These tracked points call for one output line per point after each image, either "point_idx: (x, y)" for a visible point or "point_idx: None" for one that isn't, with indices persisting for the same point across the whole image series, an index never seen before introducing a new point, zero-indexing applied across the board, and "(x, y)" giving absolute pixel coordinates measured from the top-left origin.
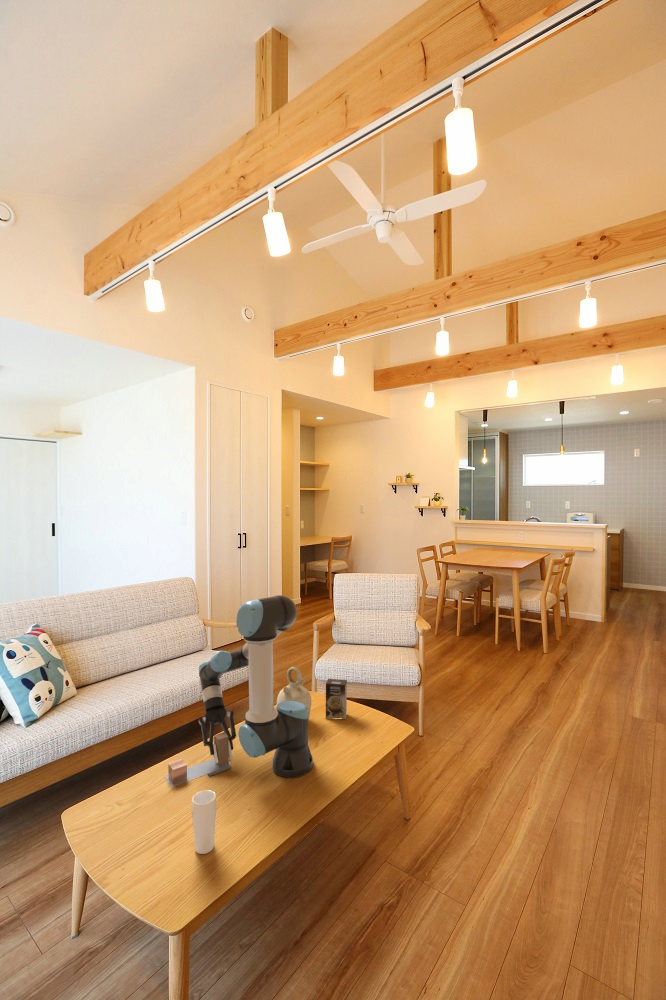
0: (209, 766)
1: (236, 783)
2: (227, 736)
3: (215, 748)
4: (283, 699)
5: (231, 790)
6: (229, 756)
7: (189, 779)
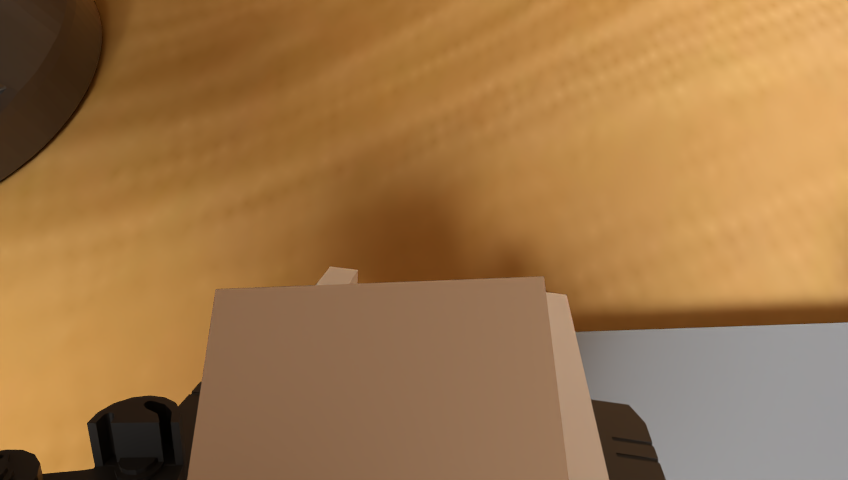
0: None
1: (426, 104)
2: (237, 306)
3: (561, 414)
4: None
5: (499, 49)
6: None
7: None
